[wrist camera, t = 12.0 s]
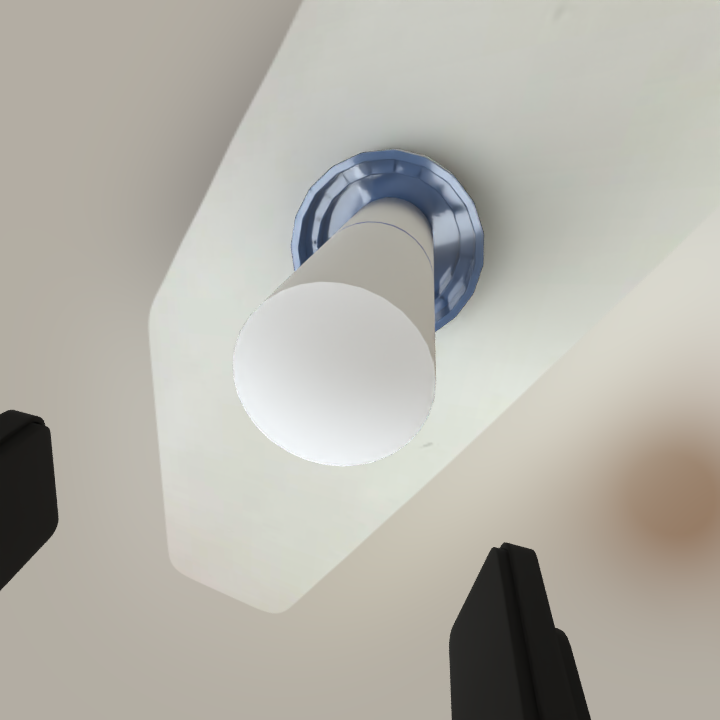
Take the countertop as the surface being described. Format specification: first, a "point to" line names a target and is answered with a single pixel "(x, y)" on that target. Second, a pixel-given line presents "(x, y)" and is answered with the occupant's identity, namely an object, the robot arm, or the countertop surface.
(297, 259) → the bowl
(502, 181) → the countertop surface
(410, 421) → the cylindrical container
